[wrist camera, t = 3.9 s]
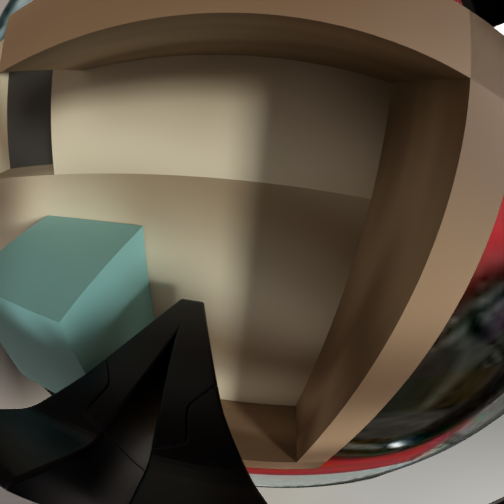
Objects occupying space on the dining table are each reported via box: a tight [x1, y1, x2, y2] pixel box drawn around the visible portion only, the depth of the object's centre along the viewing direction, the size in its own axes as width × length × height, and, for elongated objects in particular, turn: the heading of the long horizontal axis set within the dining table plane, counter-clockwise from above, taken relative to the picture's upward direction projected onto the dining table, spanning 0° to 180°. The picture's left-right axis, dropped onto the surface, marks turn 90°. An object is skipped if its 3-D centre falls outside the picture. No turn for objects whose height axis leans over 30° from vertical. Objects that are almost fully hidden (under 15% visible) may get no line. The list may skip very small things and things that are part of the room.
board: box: [0, 40, 392, 406], centre depth 10 cm, size 21×18×2 cm
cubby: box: [0, 0, 504, 469], centre depth 8 cm, size 18×10×4 cm, turn 175°
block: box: [0, 215, 155, 393], centre depth 7 cm, size 4×4×4 cm
